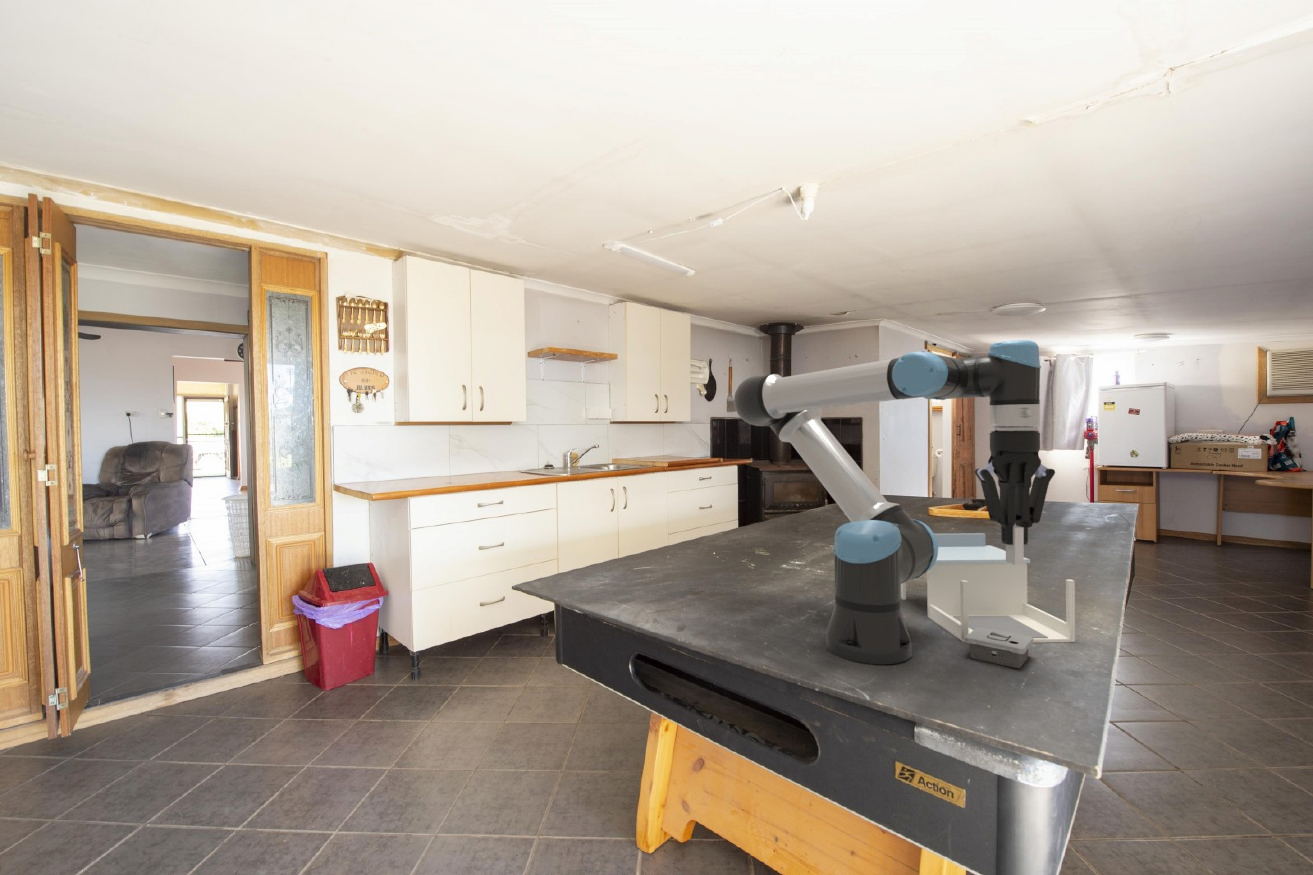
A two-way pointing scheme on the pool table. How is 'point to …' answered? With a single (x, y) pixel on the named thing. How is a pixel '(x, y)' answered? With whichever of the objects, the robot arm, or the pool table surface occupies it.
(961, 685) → the pool table surface
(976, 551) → the lid
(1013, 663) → the gray toolbox
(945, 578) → the housing
